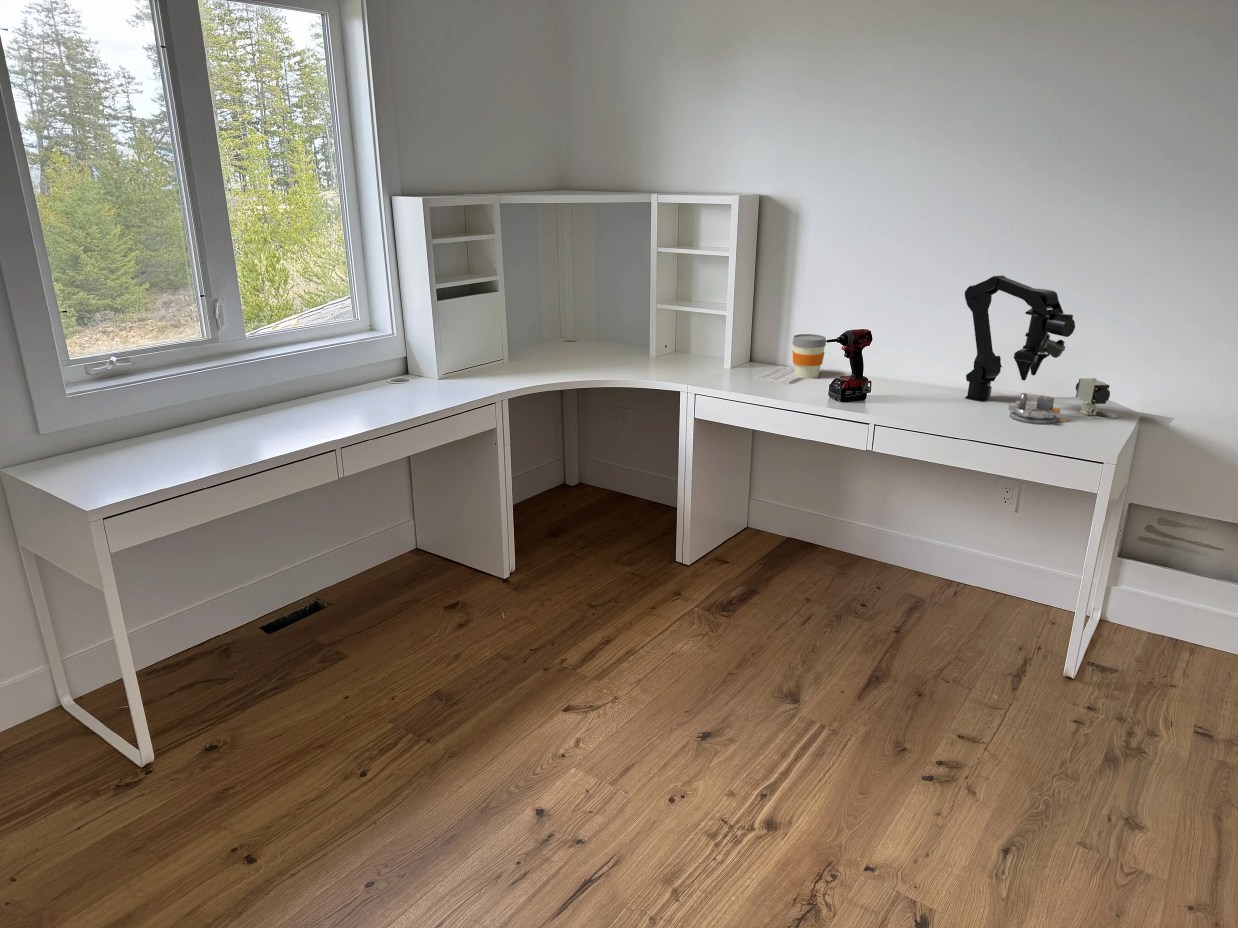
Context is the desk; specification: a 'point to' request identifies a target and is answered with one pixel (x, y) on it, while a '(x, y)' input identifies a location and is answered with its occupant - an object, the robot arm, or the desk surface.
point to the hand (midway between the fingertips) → (1028, 377)
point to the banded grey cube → (1045, 402)
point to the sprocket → (1032, 410)
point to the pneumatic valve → (1092, 394)
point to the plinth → (1034, 421)
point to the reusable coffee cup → (808, 354)
